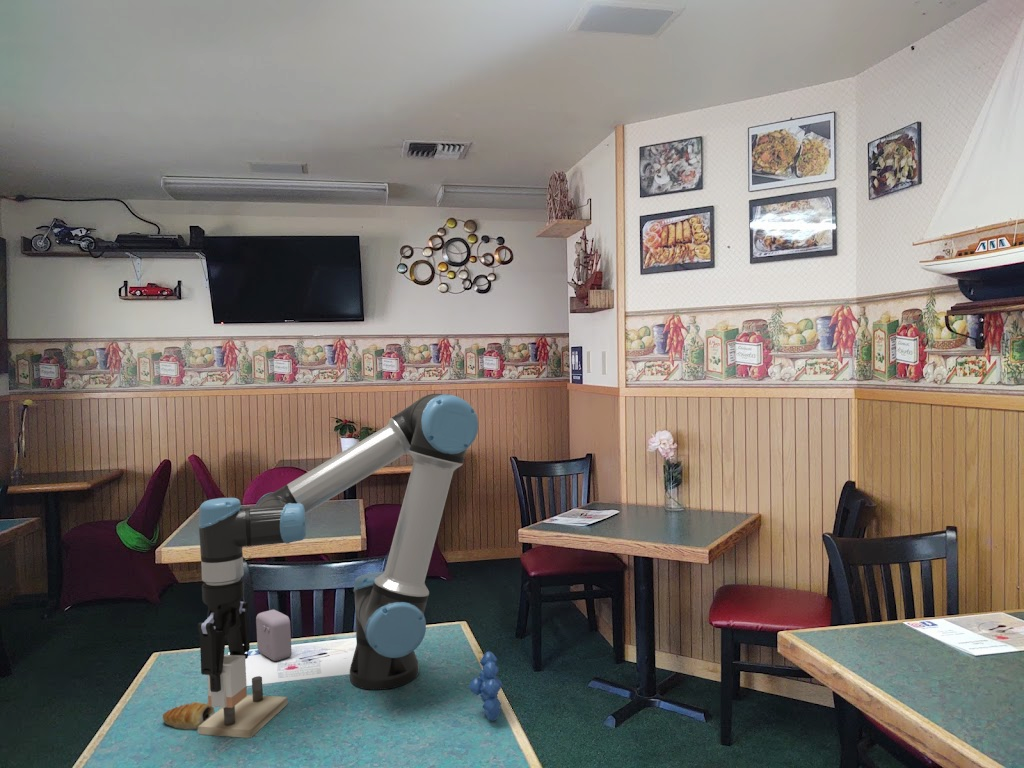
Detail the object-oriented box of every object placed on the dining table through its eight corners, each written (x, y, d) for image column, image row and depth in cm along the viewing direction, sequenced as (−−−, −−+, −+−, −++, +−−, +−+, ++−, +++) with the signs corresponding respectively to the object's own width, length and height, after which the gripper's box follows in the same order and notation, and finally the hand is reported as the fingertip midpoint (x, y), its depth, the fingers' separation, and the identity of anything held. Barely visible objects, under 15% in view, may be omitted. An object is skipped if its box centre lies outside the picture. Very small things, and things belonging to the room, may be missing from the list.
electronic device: (255, 653, 183) (253, 612, 183) (273, 647, 186) (271, 608, 186) (273, 664, 176) (271, 622, 175) (291, 658, 179) (289, 617, 178)
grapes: (467, 703, 151) (465, 645, 151) (500, 700, 152) (498, 642, 152) (471, 731, 140) (468, 668, 139) (506, 727, 140) (504, 665, 140)
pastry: (155, 730, 145) (154, 711, 145) (175, 714, 152) (174, 695, 152) (200, 731, 144) (199, 712, 144) (218, 715, 151) (217, 696, 151)
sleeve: (223, 694, 146) (222, 654, 146) (246, 696, 145) (245, 655, 145) (208, 706, 141) (206, 664, 141) (232, 707, 140) (230, 665, 140)
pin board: (287, 704, 154) (286, 675, 154) (250, 738, 140) (248, 706, 140) (239, 701, 156) (238, 672, 156) (198, 734, 143) (196, 703, 142)
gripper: (232, 566, 152) (237, 678, 153) (175, 593, 135) (180, 720, 135) (265, 567, 151) (270, 681, 151) (212, 595, 133) (217, 723, 134)
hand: (228, 699), depth 143 cm, fingers closed on sleeve, 5 cm apart
